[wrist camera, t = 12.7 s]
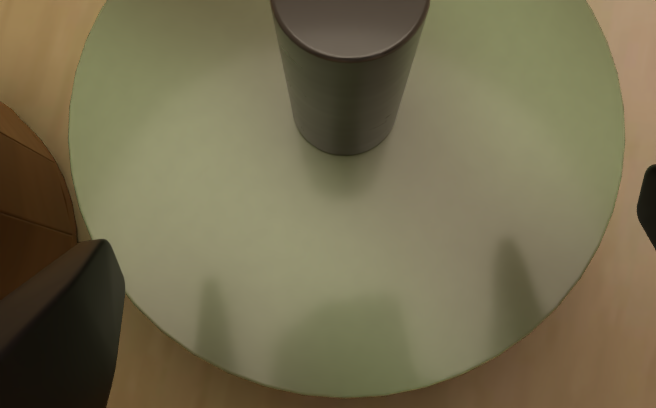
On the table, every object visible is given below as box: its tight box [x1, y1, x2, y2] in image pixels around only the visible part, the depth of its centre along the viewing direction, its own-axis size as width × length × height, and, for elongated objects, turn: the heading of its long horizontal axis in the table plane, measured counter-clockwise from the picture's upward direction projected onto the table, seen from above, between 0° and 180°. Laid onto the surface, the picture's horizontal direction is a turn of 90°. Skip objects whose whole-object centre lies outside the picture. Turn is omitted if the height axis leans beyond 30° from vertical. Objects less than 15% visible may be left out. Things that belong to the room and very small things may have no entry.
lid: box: [68, 0, 625, 399], centre depth 12 cm, size 14×14×6 cm
